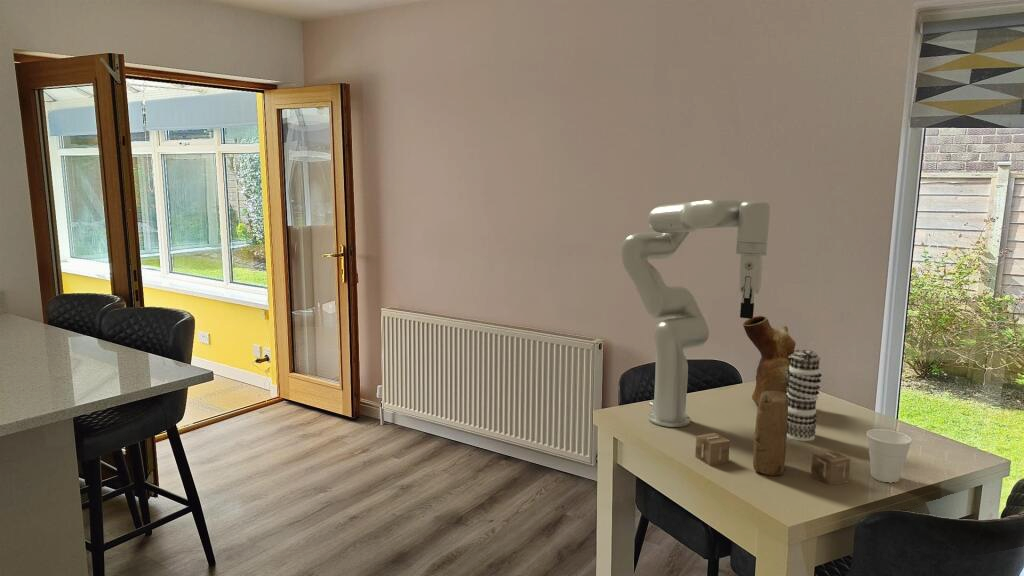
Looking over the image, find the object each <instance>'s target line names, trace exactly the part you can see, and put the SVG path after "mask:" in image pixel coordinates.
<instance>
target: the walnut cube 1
mask: <svg viewBox="0 0 1024 576" xmlns="http://www.w3.org/2000/svg"><path fill="white" fill-rule="evenodd" d="M695 438H696V439H695V454H694V456H695V458H697V459H698V460H700V461H701V462H702V463H704V464H706V465H708V466H710V467H711V466H716V465H721V464H727V463H730V461H729V459H730V446H731V445H730V443H731V440H729V439H727V438H725V437H723V436H722V435H720V434H718V433H716V432H713V433H705V434H700V435H696V436H695Z"/></svg>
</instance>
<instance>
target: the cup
mask: <svg viewBox="0 0 1024 576" xmlns="http://www.w3.org/2000/svg"><path fill="white" fill-rule="evenodd" d="M866 436H867V443H868V454H869V455H868V456H869V464H870V475H871V477H873V479H874V480H876V481H879V482H881V481H882V483H885V482H889V483H888V484H893V483H892V482H895V483H897V482H899V481H900V480H901V479H900V478H901V476H902V472H903V467H904V466H905V461H906V459H907V455H908V452H909V450H910V446H911V444H912V442H913V439H912V438H911V437H910V436H909V435H907V434H905V433H902V432H901V431H900V432H899V431H895V430H891V429H883V428H881V429H880V428H879V429H878V428H875V429H869V430H867V431H866Z"/></svg>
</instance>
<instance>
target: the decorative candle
mask: <svg viewBox="0 0 1024 576" xmlns="http://www.w3.org/2000/svg"><path fill="white" fill-rule="evenodd" d="M789 357H790V358H791V364H790V367H789V368H788V369H787V374H789V375H787V377H786V378H787V382H786V383H787V386H788V387H787V389H786V391H787V395H788V425H787V438H788V439H790V440H791V439H792V440H794V441H800V442H809V441H810V442H811V441H813V440H815V439H816V435H815V434H816V429H817V425H816V423H817V419H816V418H817V416H818V415H817V401H818V400H819V396H818V395H819V394H820V391H819V390H820V388H821V386H819V385H818V384H819V383H822V380H821V377H822V374H821V373H820V360H821V359H822V358H821V357H820V356H819V355H818V354H817V352H815V351H813V350H809V349H801V348H800V349H796V350H795V351H794V353H793V354H790V356H789Z"/></svg>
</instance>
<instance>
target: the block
mask: <svg viewBox="0 0 1024 576" xmlns="http://www.w3.org/2000/svg"><path fill="white" fill-rule="evenodd" d="M787 425H788V395H787V394H786V393H784V392H779V391H764V392H762V393H761V396H760V399H759V404H758V405H757V412H756V417H755V426H754V428H755V429H754V436H753V437H754V439H753V455H752V458H753V459H752V460H753V461H752V465H753V466H752V467H753V470H755V472H757V473H760V474H763V475H767V476H781V475H783V473H784V471H785V465H786V464H785V463H786V454H787V438H788V437H787Z"/></svg>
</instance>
